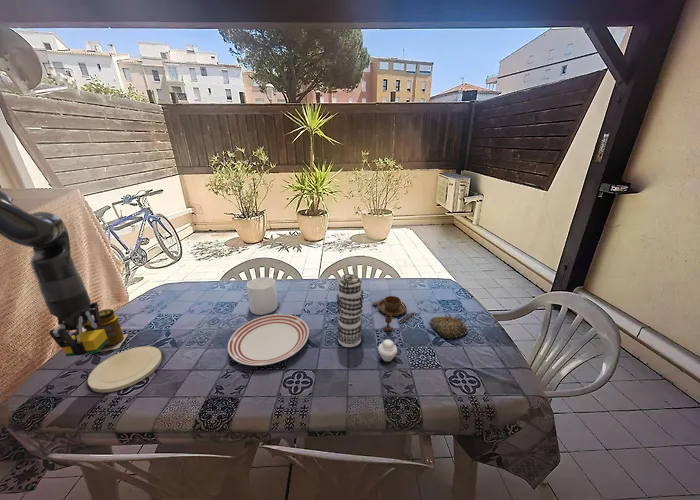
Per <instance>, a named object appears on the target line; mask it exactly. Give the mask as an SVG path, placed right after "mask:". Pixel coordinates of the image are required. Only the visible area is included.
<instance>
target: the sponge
mask: <svg viewBox="0 0 700 500" xmlns="http://www.w3.org/2000/svg"><path fill="white" fill-rule="evenodd" d="M72 339H73V340H74V339H75V336H74V335H73V336H72ZM108 341H109V340H108V338H107V335H106V333H105V330H104V329H101V330H93V331H86V330H84V331H83V332H82V334H81V342H82V343H83V345H84V348H85V350H86V353H85V354H84V355H90V354H97V353H100V352H99V351H100V349H101V348H102V347H103V346H104V345H105V344H106V343H107V342H108ZM65 342H66V341H65ZM62 350H63V352H64V354H65V356H66V357H67V358H69V357H75V356H76V355H74V354H73V352H72V349H71V347H64V348H62ZM76 357H77V356H76Z"/></svg>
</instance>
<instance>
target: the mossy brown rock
mask: <svg viewBox="0 0 700 500" xmlns="http://www.w3.org/2000/svg"><path fill="white" fill-rule="evenodd" d="M430 324H431V328H433V329H434V330H435V332H437V333H438V334H439V335H440V336H442V337H443V338H445V339H459V338H461V337H463V336H464V335H466V334H467V333H468V328H467V326H466V325H465V323H464V322H463V321H462V320H461V319H459V318H457V317H452V316H450V315H446V316H434V317H432V319H431V320H430ZM466 331H467V332H466ZM465 332H466V333H465ZM463 333H464V334H463ZM461 334H463V335H461ZM456 336H457V337H456Z"/></svg>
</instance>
